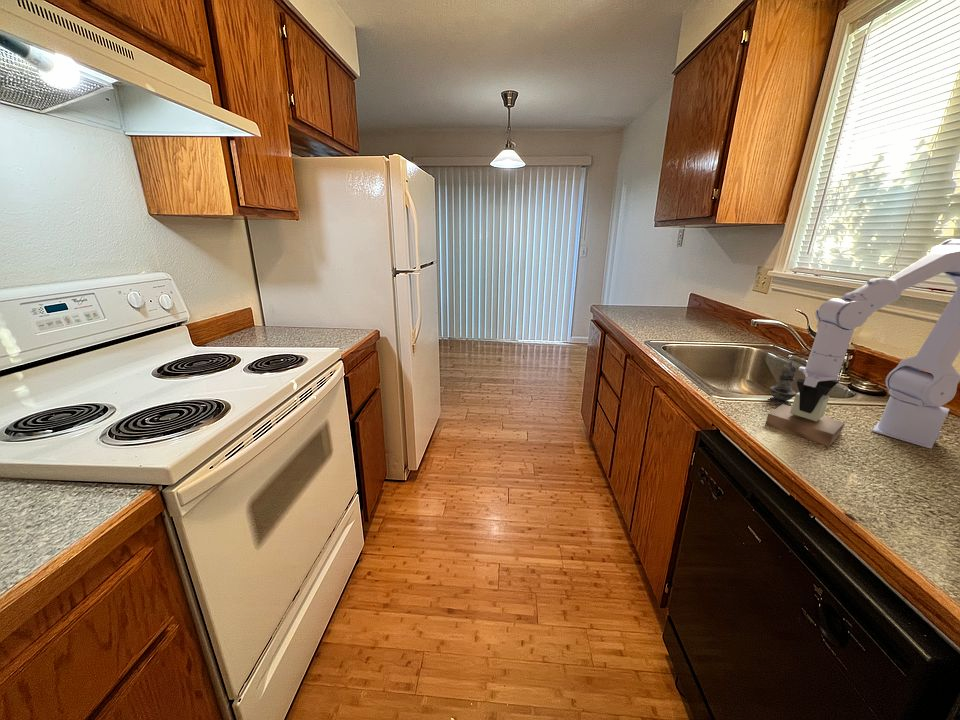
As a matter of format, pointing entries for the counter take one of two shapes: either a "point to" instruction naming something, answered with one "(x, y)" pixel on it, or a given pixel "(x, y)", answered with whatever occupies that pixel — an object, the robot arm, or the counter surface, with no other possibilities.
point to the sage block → (815, 414)
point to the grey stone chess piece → (784, 386)
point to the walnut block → (805, 425)
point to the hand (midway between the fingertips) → (809, 408)
